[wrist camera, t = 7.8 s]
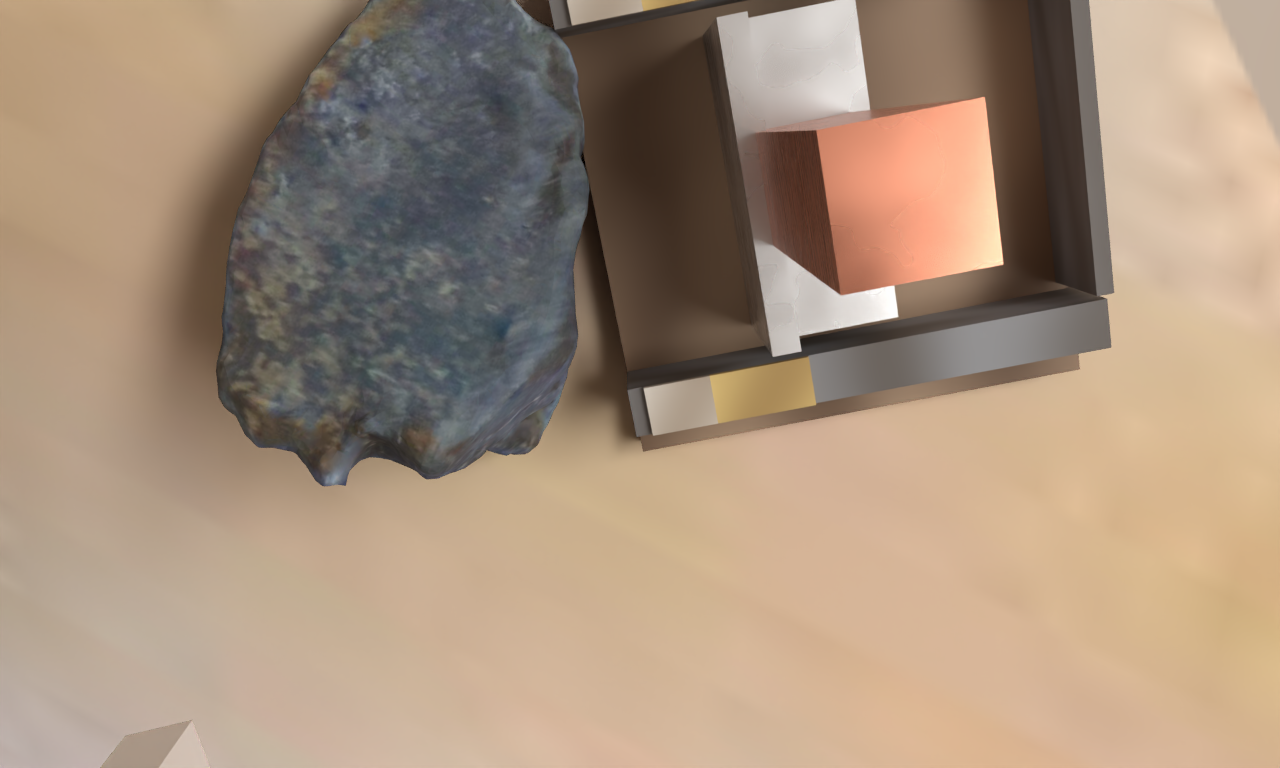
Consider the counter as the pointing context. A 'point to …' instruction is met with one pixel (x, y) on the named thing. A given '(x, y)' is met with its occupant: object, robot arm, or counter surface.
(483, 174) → the rock
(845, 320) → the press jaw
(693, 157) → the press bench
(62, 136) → the counter surface
